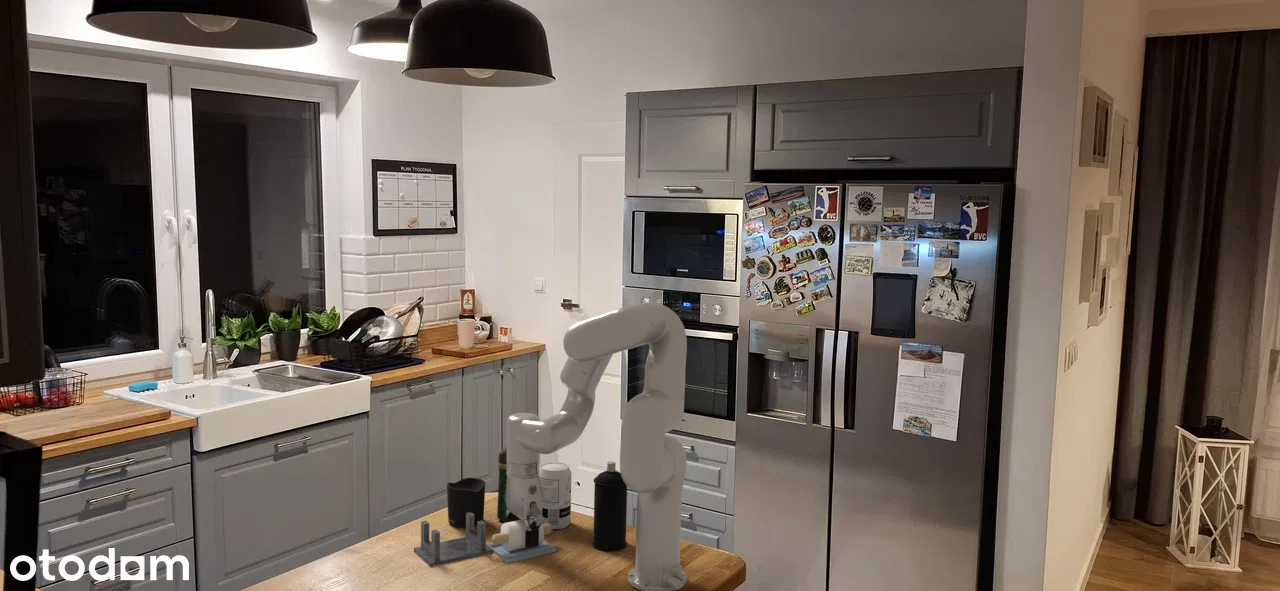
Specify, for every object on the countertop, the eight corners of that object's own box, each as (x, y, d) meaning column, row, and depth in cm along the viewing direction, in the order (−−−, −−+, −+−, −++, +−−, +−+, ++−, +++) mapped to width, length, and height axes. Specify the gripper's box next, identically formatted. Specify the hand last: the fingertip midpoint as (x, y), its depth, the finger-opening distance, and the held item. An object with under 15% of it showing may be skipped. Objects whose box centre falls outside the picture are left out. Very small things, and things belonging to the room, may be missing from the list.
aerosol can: (631, 549, 202) (634, 466, 200) (598, 553, 199) (600, 469, 197) (619, 536, 209) (621, 456, 207) (587, 540, 206) (589, 459, 204)
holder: (474, 538, 206) (474, 509, 205) (492, 552, 198) (492, 523, 197) (413, 551, 197) (413, 521, 197) (430, 566, 189) (430, 535, 188)
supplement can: (533, 521, 218) (534, 463, 216) (564, 517, 221) (564, 460, 220) (543, 532, 210) (544, 473, 209) (575, 528, 214) (576, 469, 212)
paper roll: (542, 536, 206) (542, 510, 206) (555, 545, 201) (555, 519, 200) (488, 548, 198) (488, 521, 198) (500, 558, 193) (500, 530, 192)
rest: (536, 537, 207) (536, 532, 207) (556, 551, 199) (556, 546, 199) (487, 548, 200) (488, 542, 200) (506, 563, 192) (507, 557, 192)
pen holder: (448, 515, 220) (449, 477, 219) (486, 515, 221) (486, 477, 220) (444, 529, 211) (445, 489, 210) (483, 528, 212) (484, 489, 211)
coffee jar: (524, 524, 215) (525, 452, 213) (493, 522, 216) (494, 450, 215) (534, 511, 225) (535, 442, 223) (505, 509, 226) (505, 440, 224)
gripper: (555, 475, 193) (554, 548, 195) (520, 455, 207) (519, 524, 209) (525, 480, 189) (524, 555, 190) (491, 460, 203) (491, 530, 204)
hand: (522, 539), depth 199 cm, fingers open, 9 cm apart
